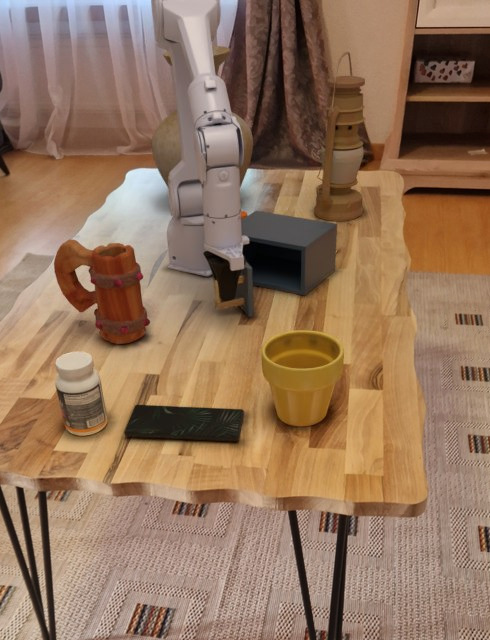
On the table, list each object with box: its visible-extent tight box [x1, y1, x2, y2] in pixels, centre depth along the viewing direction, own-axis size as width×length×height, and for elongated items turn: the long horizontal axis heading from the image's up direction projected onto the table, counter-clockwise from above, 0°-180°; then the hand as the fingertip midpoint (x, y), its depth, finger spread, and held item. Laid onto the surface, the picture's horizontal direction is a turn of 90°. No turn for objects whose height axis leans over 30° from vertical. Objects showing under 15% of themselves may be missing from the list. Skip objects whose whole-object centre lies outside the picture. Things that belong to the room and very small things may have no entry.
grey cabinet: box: [241, 210, 338, 297], centre depth 130 cm, size 12×17×9 cm
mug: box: [53, 238, 151, 345], centre depth 113 cm, size 15×8×15 cm, turn 71°
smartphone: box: [123, 404, 245, 442], centre depth 96 cm, size 7×1×15 cm
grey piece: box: [213, 262, 254, 318], centre depth 123 cm, size 6×17×8 cm, turn 18°
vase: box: [151, 45, 254, 188], centre depth 155 cm, size 22×22×30 cm
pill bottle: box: [54, 350, 108, 437], centre depth 95 cm, size 6×6×10 cm
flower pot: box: [260, 329, 345, 427], centre depth 94 cm, size 10×10×10 cm
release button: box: [241, 210, 248, 220], centre depth 147 cm, size 3×3×2 cm
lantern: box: [313, 50, 366, 222], centre depth 147 cm, size 15×10×30 cm
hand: (226, 297), depth 119 cm, fingers closed, pressing on grey piece
